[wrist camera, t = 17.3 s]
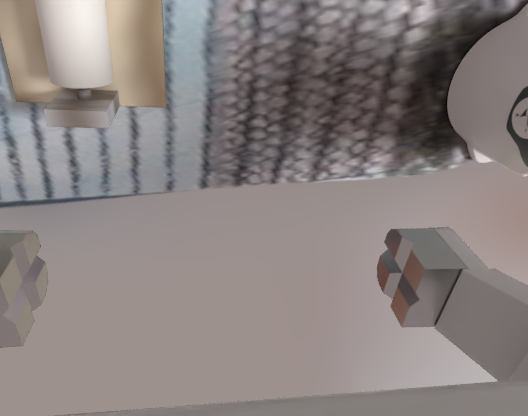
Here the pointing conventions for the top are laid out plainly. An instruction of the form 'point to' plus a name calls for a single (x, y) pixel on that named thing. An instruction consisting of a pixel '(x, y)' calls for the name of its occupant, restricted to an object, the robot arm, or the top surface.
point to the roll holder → (122, 55)
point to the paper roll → (76, 42)
